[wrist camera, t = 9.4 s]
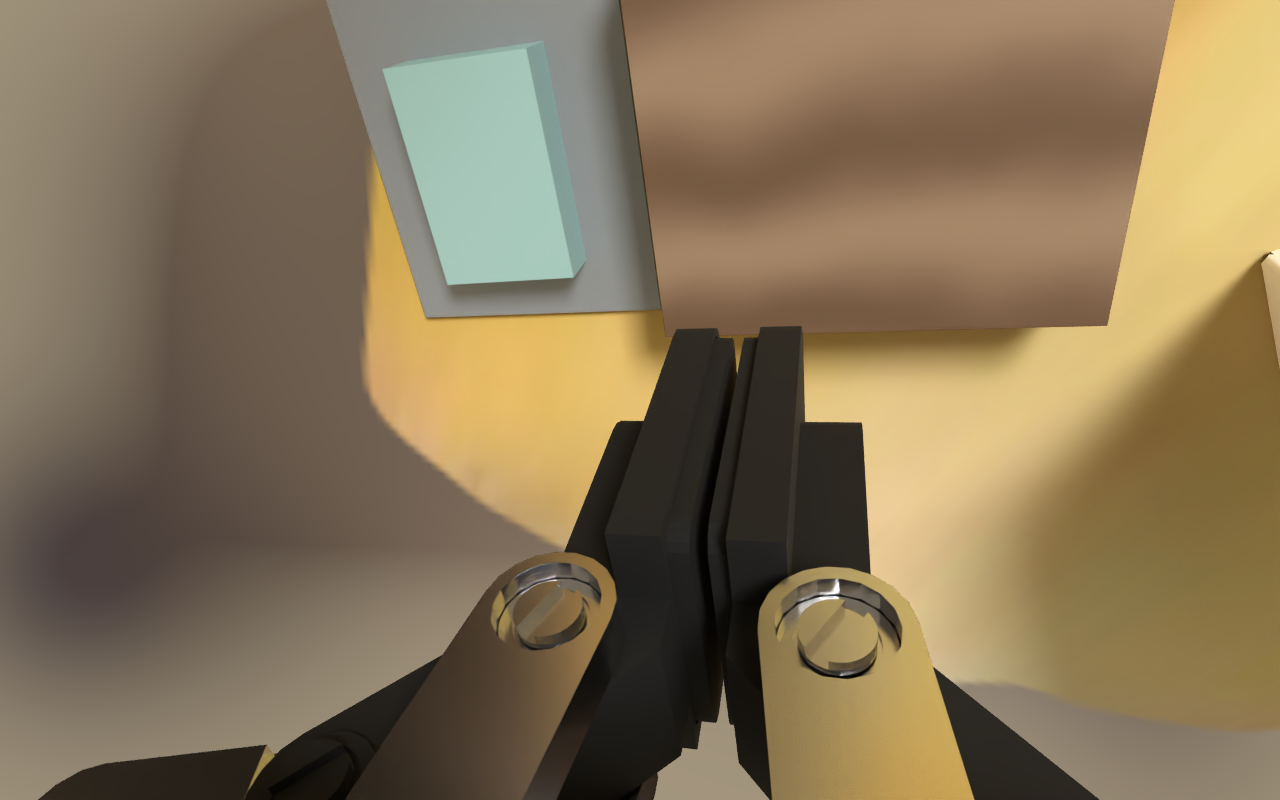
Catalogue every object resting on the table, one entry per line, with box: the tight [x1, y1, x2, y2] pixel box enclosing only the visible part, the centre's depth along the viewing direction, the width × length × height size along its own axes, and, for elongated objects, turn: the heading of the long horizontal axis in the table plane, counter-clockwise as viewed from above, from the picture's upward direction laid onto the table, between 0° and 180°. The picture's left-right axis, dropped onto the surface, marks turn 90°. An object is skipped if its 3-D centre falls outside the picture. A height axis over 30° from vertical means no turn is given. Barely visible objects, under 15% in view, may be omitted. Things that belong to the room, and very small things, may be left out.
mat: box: [326, 0, 662, 318], centre depth 32 cm, size 15×12×1 cm
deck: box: [621, 0, 1175, 337], centre depth 26 cm, size 14×16×4 cm
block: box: [382, 41, 586, 285], centre depth 31 cm, size 9×6×2 cm, turn 9°
